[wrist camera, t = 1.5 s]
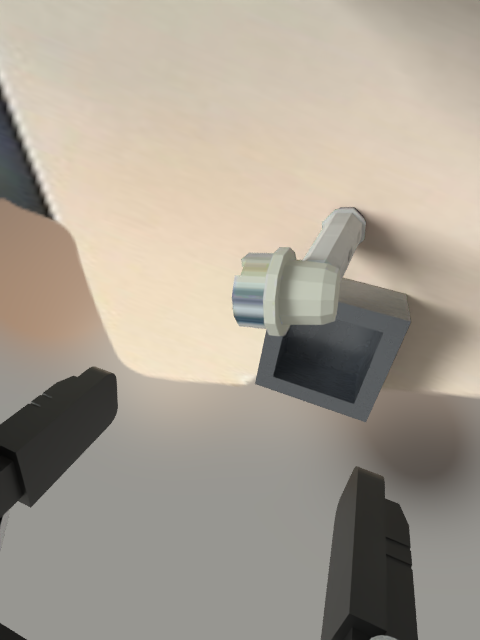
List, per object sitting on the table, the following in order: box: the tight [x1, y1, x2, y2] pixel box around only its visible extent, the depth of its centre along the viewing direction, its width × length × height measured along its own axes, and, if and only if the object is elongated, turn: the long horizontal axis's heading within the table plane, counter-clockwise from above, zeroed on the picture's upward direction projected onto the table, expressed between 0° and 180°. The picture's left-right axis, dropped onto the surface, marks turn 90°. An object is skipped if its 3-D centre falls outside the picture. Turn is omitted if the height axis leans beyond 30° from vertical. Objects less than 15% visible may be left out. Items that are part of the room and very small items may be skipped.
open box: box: [255, 278, 411, 422], centre depth 42 cm, size 14×14×8 cm
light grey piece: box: [232, 207, 366, 336], centre depth 29 cm, size 5×7×25 cm
